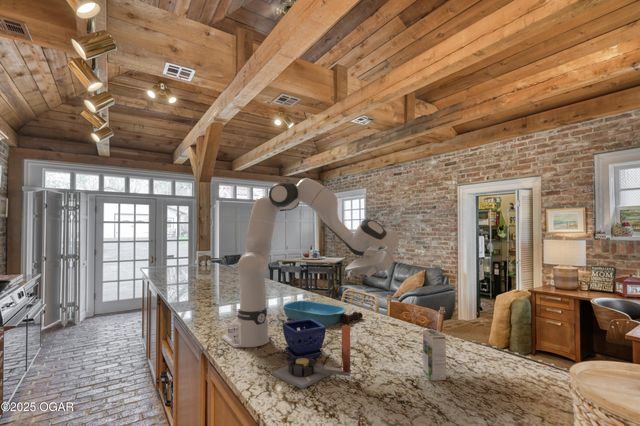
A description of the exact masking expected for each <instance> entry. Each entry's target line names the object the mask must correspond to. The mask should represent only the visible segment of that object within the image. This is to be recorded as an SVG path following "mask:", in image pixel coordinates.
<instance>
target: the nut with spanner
mask: <svg viewBox="0 0 640 426" xmlns="http://www.w3.org/2000/svg"><path fill="white" fill-rule="evenodd" d="M301 358H306V359H308V360H309V363H308V366H304V364H297V363H296V360H297V359H299V358H293V357H291V358H289V360H288V365H287V366H288V372H289V373H290V374H291V375H293V376H300V377H302V376H304V377H305V376H309V375H312V374H314V372H321V373H329V374H330V375H337V376H344V377H345V376H346V377H350V376H351V374H352V370H351V326H350V325H349V324H347V325H345V324H342V326H341V367H340V368H339V367H334V366H333V367H332V366H323V365H318V364H317V360H315V359H313V358H311V359H310V356H304V355H302V356H301ZM317 365H318V366H317Z"/></svg>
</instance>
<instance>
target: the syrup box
mask: <svg viewBox="0 0 640 426" xmlns="http://www.w3.org/2000/svg"><path fill="white" fill-rule="evenodd" d="M446 338H447V337H446V334H444V333H442V332H441V331H440V330H438V329H423V331H422V374H423V375H424V376H425V377H426V378H427V379H428V380H429V381H446V380H447V346H446V342H447V341H446V340H447V339H446Z"/></svg>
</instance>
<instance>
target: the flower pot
mask: <svg viewBox="0 0 640 426" xmlns="http://www.w3.org/2000/svg"><path fill="white" fill-rule="evenodd" d="M326 327H327V326H324V325H322V324H320V323H318V322H317V321H315V320H313V319H305V320H298V321H296V320H292V321H287V322H283V323H282V331H283V337H284V340H285V342H286V344H287V346H285V347H284V349H285V351H286V352H287V354H288V355H290V357H291V358H301V356H302V355H304V356H310V359H316V358H318V357H320V356H321V355H323V351H322V350H321V349H322V346H323V344H324V340H325V337H326V329H327V328H326ZM298 328H299V330H298Z"/></svg>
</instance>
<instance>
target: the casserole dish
mask: <svg viewBox="0 0 640 426" xmlns="http://www.w3.org/2000/svg"><path fill="white" fill-rule="evenodd" d="M282 308H283V311H284V312H283V313H284V315H285V317H286V318H288V319H289V320H292V321H298V320H305V319H313V320H315V321H317V322H318V323H320V324H322V325H324V326H325V327H330V326H332V324H333V325H335V324H336V322H337V323H338V322H341V321H340V317H341V315H342V314H346V312H347V311H346V307H345V306H340V305H335V304H332V303H325V302H323V303H322V302H318V301H313V300H297V301H296V300H295V301H288V302H286V303H285V304H283V306H282ZM334 323H335V324H334ZM329 325H330V326H329Z"/></svg>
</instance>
